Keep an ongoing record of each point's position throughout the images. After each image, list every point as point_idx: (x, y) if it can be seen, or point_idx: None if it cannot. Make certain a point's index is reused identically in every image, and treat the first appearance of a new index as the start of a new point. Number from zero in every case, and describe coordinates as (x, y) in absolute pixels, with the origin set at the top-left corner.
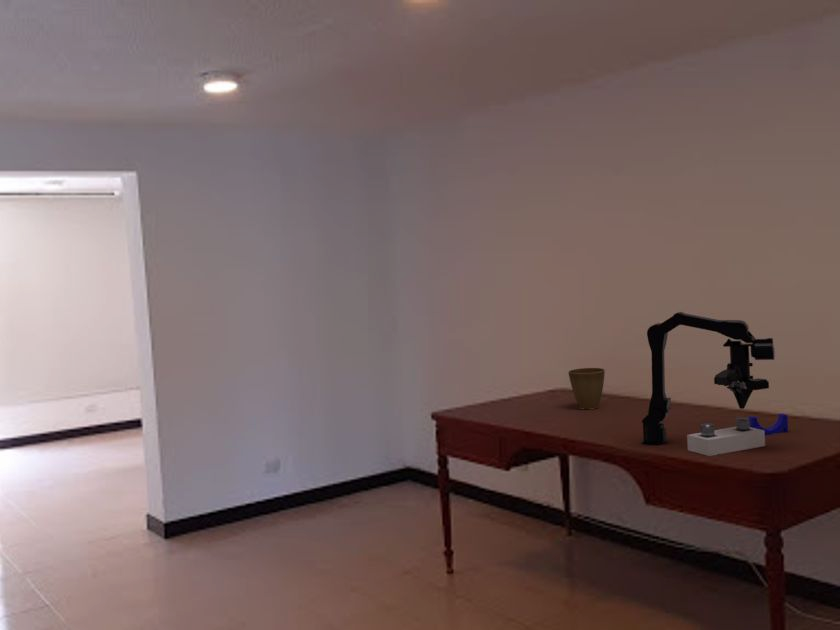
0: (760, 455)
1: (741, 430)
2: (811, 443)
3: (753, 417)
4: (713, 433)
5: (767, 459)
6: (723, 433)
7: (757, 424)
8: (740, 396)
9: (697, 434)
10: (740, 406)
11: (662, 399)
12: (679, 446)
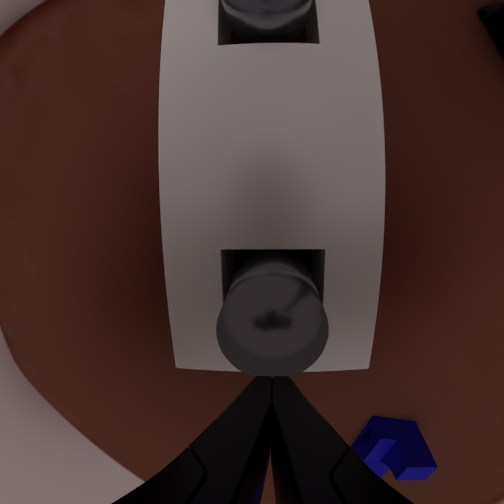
0: (75, 185)
1: (247, 264)
2: (149, 447)
3: (409, 472)
4: (223, 6)
5: (27, 167)
6: (258, 110)
7: (388, 459)
8: (189, 482)
9: None
10: (265, 385)
11: None
12: (428, 32)
